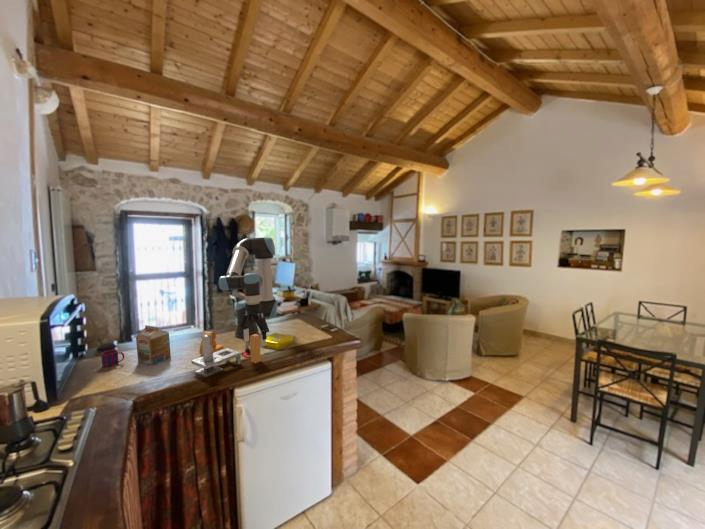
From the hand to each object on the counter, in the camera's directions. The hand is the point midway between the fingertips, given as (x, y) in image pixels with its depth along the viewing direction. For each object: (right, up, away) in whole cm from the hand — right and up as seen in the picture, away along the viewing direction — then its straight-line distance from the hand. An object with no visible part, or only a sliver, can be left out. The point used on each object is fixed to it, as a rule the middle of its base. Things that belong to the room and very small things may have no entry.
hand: (254, 343), depth 157 cm
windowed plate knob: (-17, -11, -6) cm, 21 cm away
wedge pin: (0, -10, +1) cm, 10 cm away
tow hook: (-5, -9, +11) cm, 15 cm away
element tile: (+5, -8, +27) cm, 28 cm away
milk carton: (-55, -11, +5) cm, 57 cm away
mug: (-74, -12, +1) cm, 75 cm away
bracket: (-29, -9, +15) cm, 34 cm away
